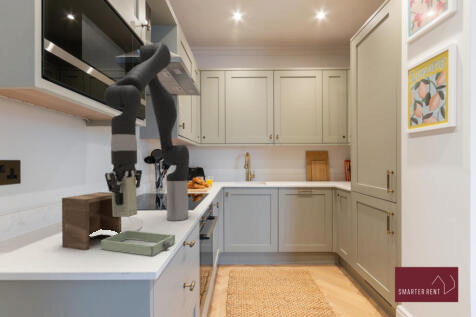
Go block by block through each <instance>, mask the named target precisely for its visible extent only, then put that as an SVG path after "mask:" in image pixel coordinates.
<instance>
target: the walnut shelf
mask: <svg viewBox="0 0 476 317" xmlns="http://www.w3.org/2000/svg"><path fill="white" fill-rule="evenodd" d="M61 226H62V227H61V233H62V236H61V239H62V240H61V241H62V242H61V247H62V248H69V249H74V250H82V251H87V250H89V249H90V239H93V238H95V237H90V236H89V235H90V234H92V233H93V232H96V231H98V230H100V229H102V230H111V231H115V232H117V233H118V234H119V233H120V232H121V233H122V217H113V210H112V192H107V191H106V192H101V191H99V192H93V193H87V194H79V196H78V195H73V196H66V197H62V198H61Z"/></svg>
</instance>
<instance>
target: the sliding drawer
mask: <svg viewBox="0 0 476 317" xmlns="http://www.w3.org/2000/svg"><path fill="white" fill-rule="evenodd" d="M127 239H129V240H130V239H131V240H140V241H148V242H157V243H154V244H152V245H150V244H142V243H135V242H134V243H133V242H125V241H124V240H127ZM175 243H176V235H175V234H171V233H169V234H167V233H159V232H147V231H146V232H145V231H136V230H129V229H128V230H125V231H121V233H119V234H116V235H114V236H107V237H105V238H104V239H101V240H100V249H101V250H107V251H115V252H125V253H132V254H138V255H139V254H140V255H147V256H154V255H156V254H158V253H160V252H162V251H163V250H165V249H166V248H167V249H168V248H169V247H170V246H172V245H173V244H175Z"/></svg>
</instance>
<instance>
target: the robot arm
mask: <svg viewBox="0 0 476 317" xmlns="http://www.w3.org/2000/svg"><path fill="white" fill-rule="evenodd" d="M171 59H172V56H171V52H170V49H169V47H168V45H167V44H166V43H163V42H157V43H156V42H155V43H152V44H145V45H141V46H140V47H139V60H140V63H139V64H137V65H135V66H134V67H132V68H131V69H130V70H129V71H128V72H127V73H126V74H125V76H124V77H122V78H120V79H118V80H117V81H114V82H113V83H111V84H110V85H109V86H108V87H107V88H106V90H105V92H104V95H103V96H104V97H103V99H104V101H105V104H106V105H107V107H109V108H111V109H114V110H121V109H122V112H121V113H120V114H118V115H116V116H113V117H112V118H111V121H110V122H111V123H110V124H111V125H110V128H111V138H110V139H111V140H110V158H111V160H110V162H111V165H113V168H112V171H110V172H106V173H105V174H104V178H105V181H106V185H107V188H108V192H109V193H112V192H114V193H115V203H116V205H123V193H122V192H123V186H124V185H125V182H124V181H125V178H127V177H136V189H138V188H139V187H140V186H141V185H140V184H141V182H142V181H141V180H142V174H143V171H142V169H139V170H138V169H136V165H137V164H138V143H137V141H138V140H137V136H136V135H137V131H136V129H137V127H136V123H137V118H138V113H139V112H140V111H139V110H140V107H141V104H142V102H141V101H142V97H141V93H143V92H144V91H145V89H146V87H148V90H149V95H150V98H151V104H152V109H153V113H154V117H155V120H156V121H155V122H156V125H157V129H158V131H157V132H158V134H159V135H158V136H159V142H160V143H159V144H160V149H161V150H160V151H161V157H162V160H163V163H164V164H165V165H167V166H175V169H174V171H172V172H170V173H167V175H166V220H167V221H173V222H174V221H177V222H178V221H183V220H185V221H186V220H187V219H188V218H189V195H188V194H189V192H188V191H189V190H188V180H189V179H188V178H189V177H188V176H189V172H190V169H189V168H190V152H189V148H188V147H187V146H186V145H185V144H184V145H183V144H173V137H172V133H173V129H174V126H175V124H176V122H177V118H178V112H177V108H176V103H175V99H174V98H173V96H172V94H171V93H170V92H169V91H168V90H167V89H166V87H165V86H164V85H163V84H162V82H161V81H160V78H159V76H158V74H159V73H161V72H162V71H163V70H164V69H166V68H167V67H169V66H170V64H171V62H172V60H171ZM117 180H118V181H122V182H121V183H117ZM112 185H113V187H112ZM119 185H120V187H119V189H118V186H119Z"/></svg>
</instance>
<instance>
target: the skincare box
mask: <svg viewBox="0 0 476 317" xmlns="http://www.w3.org/2000/svg"><path fill="white" fill-rule="evenodd" d="M121 182H122V181H118V180H117V183H121ZM124 182H125V185H124V186H123V192H122V193H123V205H116V203H115V193H114V192H111V193H112V210H113V217H121V218H130V217H132V216H136V215H138V203H137V202H138V199H137V198H138V196H137V188H136V183H137V180H136V177H127V178H125V181H124ZM112 187H113V185H112ZM119 187H120V185H119V186H118V189H119Z"/></svg>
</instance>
